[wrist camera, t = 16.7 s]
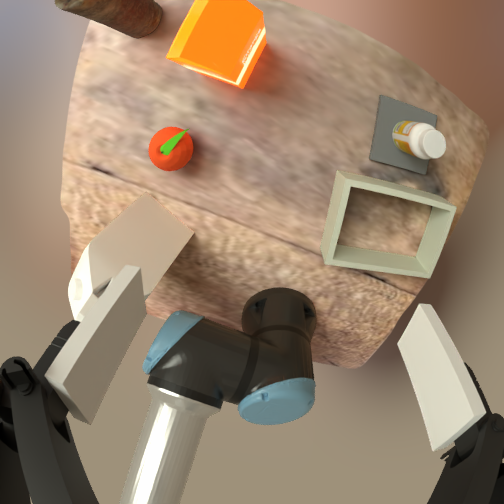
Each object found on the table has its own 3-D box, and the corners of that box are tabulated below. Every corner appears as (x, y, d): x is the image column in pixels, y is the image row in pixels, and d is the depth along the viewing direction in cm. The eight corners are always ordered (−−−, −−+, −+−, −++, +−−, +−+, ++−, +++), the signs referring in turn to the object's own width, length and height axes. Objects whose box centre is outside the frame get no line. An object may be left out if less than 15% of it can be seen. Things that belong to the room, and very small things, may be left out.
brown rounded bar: (132, 3, 29) (64, -31, 12) (169, 0, 29) (111, -46, 12) (121, 39, 33) (45, 18, 15) (158, 38, 33) (89, 5, 15)
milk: (160, 272, 54) (101, 372, 31) (116, 236, 51) (36, 319, 28) (194, 232, 49) (134, 335, 26) (146, 191, 46) (52, 266, 23)
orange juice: (198, 73, 36) (143, 49, 19) (221, 27, 32) (183, -25, 15) (244, 89, 37) (219, 70, 20) (267, 42, 33) (262, -8, 16)
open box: (417, 262, 48) (429, 278, 43) (319, 247, 49) (324, 264, 43) (439, 196, 42) (456, 207, 36) (336, 169, 42) (345, 178, 37)
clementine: (182, 112, 39) (166, 112, 33) (211, 141, 42) (200, 146, 35) (151, 146, 42) (131, 153, 36) (178, 174, 44) (163, 185, 38)
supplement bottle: (418, 153, 38) (449, 165, 30) (391, 151, 39) (418, 162, 30) (419, 122, 36) (450, 127, 27) (391, 118, 36) (419, 122, 28)
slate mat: (423, 173, 40) (425, 175, 40) (368, 158, 41) (370, 159, 40) (434, 115, 35) (437, 115, 34) (379, 95, 35) (381, 95, 35)
